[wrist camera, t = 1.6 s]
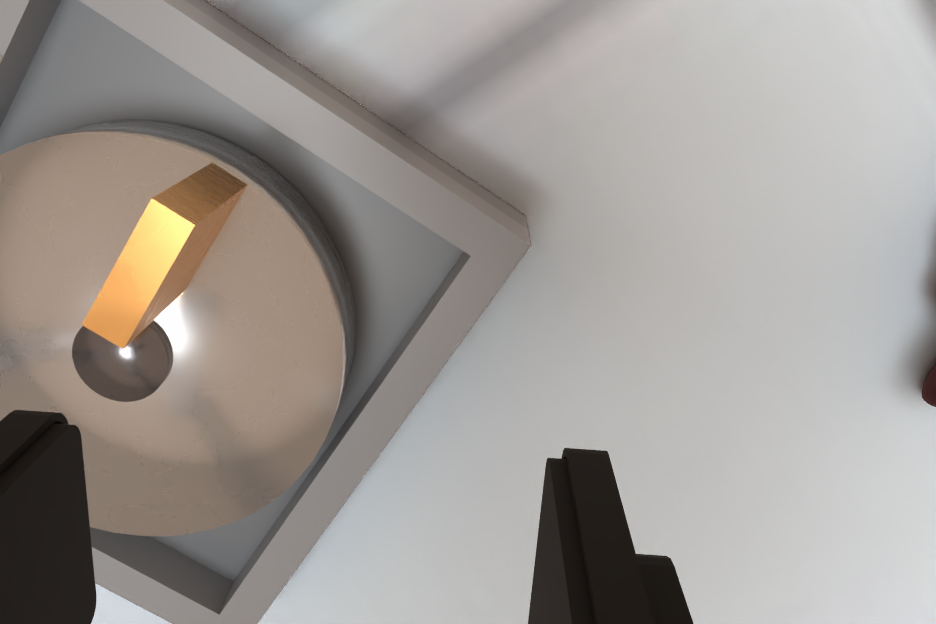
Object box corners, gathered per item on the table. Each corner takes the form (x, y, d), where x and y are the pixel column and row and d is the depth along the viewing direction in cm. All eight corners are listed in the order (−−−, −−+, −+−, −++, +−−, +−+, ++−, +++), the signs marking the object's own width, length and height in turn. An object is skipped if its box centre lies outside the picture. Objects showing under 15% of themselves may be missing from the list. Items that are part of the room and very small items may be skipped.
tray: (259, 590, 37) (231, 661, 33) (-137, 375, 34) (-220, 425, 30) (525, 215, 32) (531, 247, 28) (78, -85, 28) (11, -99, 24)
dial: (237, 551, 34) (167, 707, 26) (-98, 366, 32) (-281, 481, 24) (431, 269, 30) (413, 360, 22) (63, 33, 28) (-96, 45, 20)
